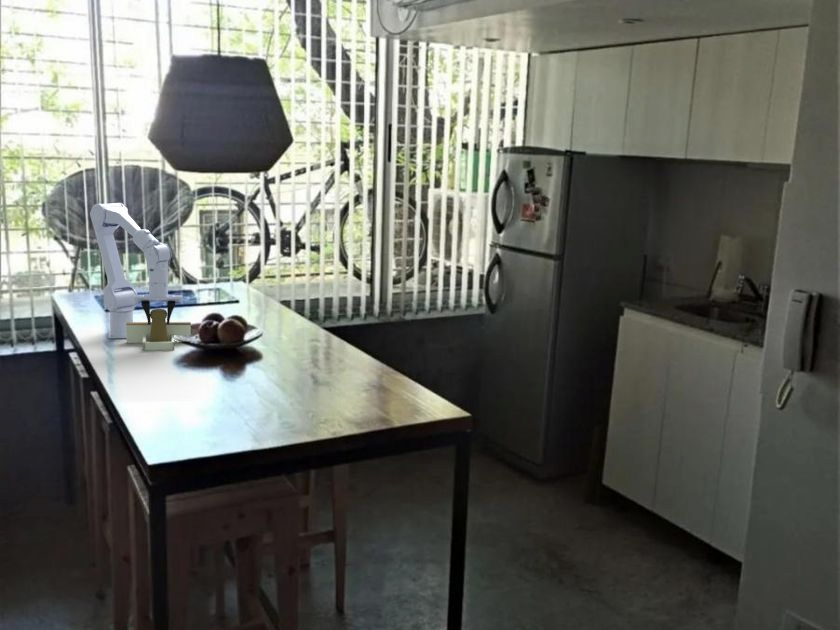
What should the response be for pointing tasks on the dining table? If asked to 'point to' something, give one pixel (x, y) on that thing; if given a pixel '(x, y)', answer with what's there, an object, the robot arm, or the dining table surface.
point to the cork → (158, 326)
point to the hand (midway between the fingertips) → (158, 323)
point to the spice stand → (142, 330)
